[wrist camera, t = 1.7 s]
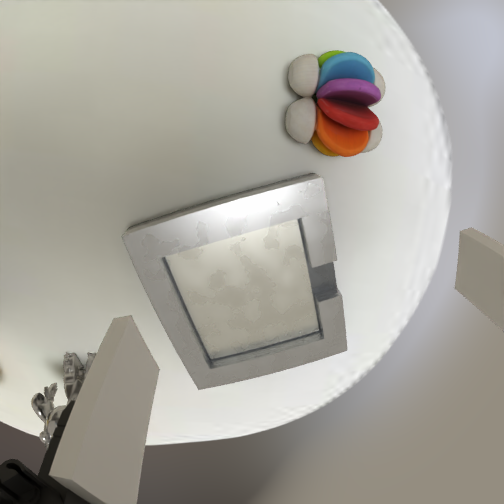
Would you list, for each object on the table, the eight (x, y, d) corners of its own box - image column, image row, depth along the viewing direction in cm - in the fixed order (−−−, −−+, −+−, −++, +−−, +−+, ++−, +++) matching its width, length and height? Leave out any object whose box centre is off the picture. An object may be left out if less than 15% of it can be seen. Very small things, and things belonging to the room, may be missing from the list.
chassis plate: (129, 227, 27) (121, 236, 25) (314, 173, 27) (322, 177, 24) (199, 375, 35) (198, 389, 32) (340, 337, 35) (347, 350, 32)
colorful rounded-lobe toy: (280, 149, 26) (300, 156, 19) (287, 49, 22) (309, 24, 15) (365, 160, 27) (405, 171, 20) (372, 66, 23) (413, 53, 16)
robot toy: (142, 350, 33) (116, 457, 19) (156, 385, 35) (140, 484, 21) (47, 350, 32) (3, 432, 18) (65, 381, 34) (32, 462, 20)
